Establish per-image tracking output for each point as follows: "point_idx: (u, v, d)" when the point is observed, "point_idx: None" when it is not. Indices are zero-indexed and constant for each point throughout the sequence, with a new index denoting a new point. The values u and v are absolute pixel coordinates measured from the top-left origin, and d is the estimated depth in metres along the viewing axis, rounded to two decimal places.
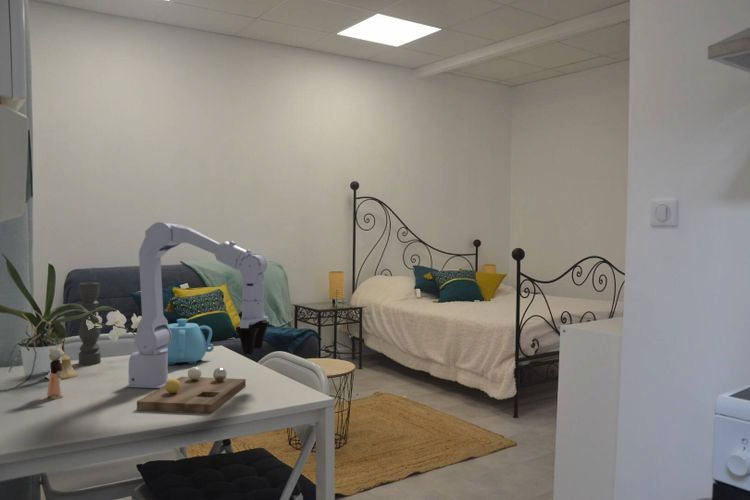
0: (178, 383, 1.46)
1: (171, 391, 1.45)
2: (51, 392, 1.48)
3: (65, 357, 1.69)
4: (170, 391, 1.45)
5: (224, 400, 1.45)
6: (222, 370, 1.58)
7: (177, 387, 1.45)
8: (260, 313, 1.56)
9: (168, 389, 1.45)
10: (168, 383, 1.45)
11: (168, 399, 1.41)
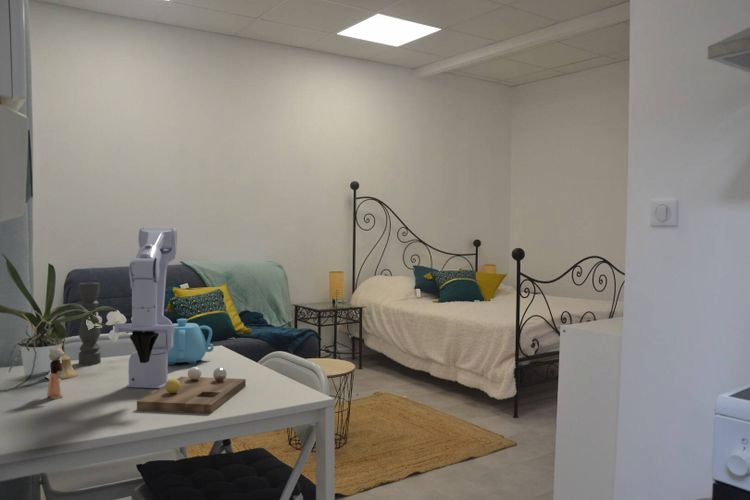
0: (178, 383, 1.46)
1: (171, 391, 1.45)
2: (51, 392, 1.48)
3: (65, 357, 1.69)
4: (170, 391, 1.45)
5: (224, 400, 1.45)
6: (222, 370, 1.58)
7: (177, 387, 1.45)
8: (133, 321, 1.44)
9: (168, 389, 1.45)
10: (168, 383, 1.45)
11: (168, 399, 1.41)
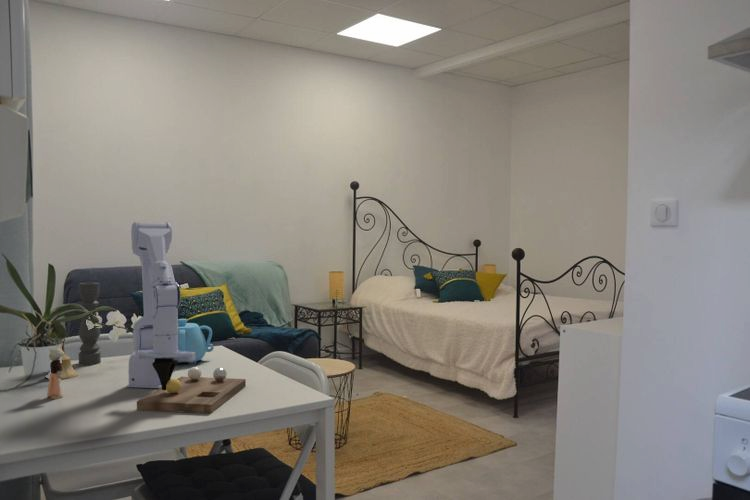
0: (179, 384, 1.46)
1: (171, 391, 1.45)
2: (51, 392, 1.48)
3: (65, 357, 1.69)
4: (170, 391, 1.45)
5: (224, 400, 1.45)
6: (222, 370, 1.58)
7: (178, 388, 1.45)
8: (154, 349, 1.44)
9: (169, 389, 1.45)
10: (169, 383, 1.45)
11: (168, 399, 1.41)
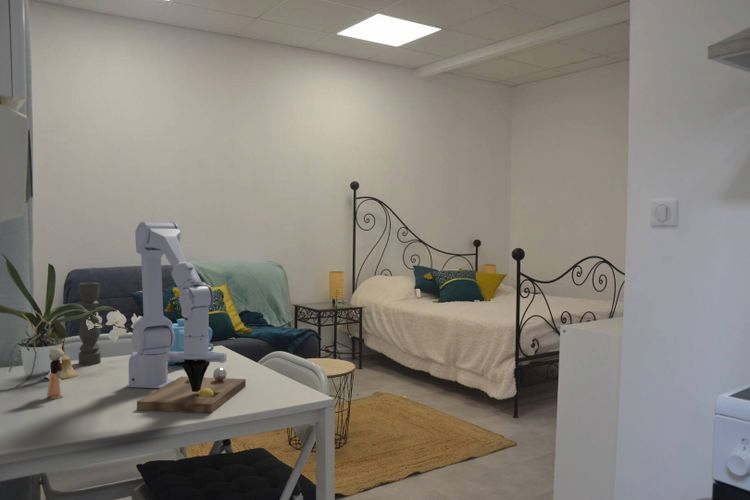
0: (206, 388, 1.45)
1: None
2: (51, 392, 1.48)
3: (65, 357, 1.69)
4: None
5: (224, 400, 1.45)
6: (222, 370, 1.58)
7: (208, 390, 1.45)
8: (186, 350, 1.43)
9: None
10: (200, 396, 1.44)
11: (168, 399, 1.41)
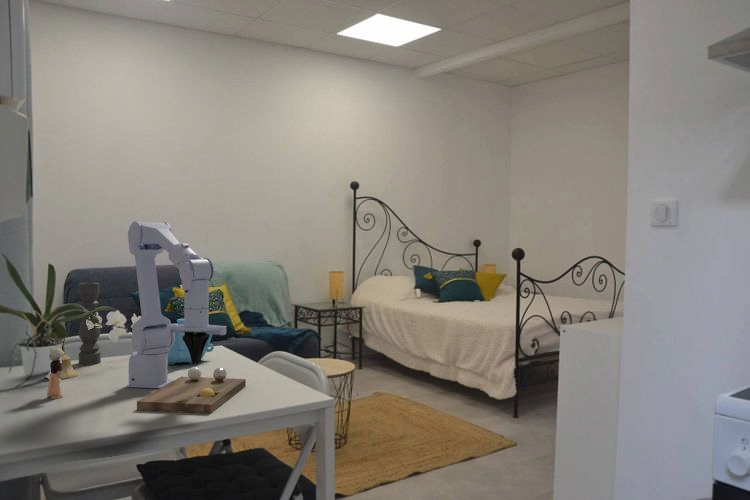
0: (207, 388, 1.45)
1: None
2: (51, 392, 1.48)
3: (65, 357, 1.69)
4: None
5: (224, 400, 1.45)
6: (222, 370, 1.58)
7: (209, 390, 1.45)
8: (186, 322, 1.44)
9: None
10: (200, 396, 1.44)
11: (168, 399, 1.41)
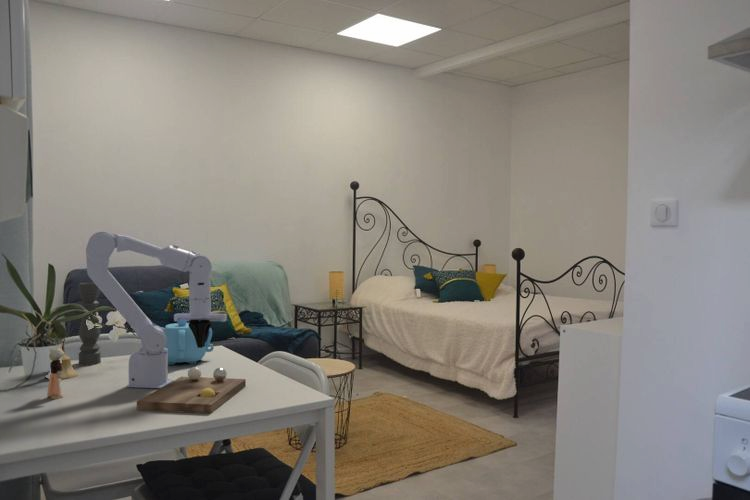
0: (208, 388, 1.45)
1: None
2: (51, 392, 1.48)
3: (65, 357, 1.69)
4: None
5: (224, 400, 1.45)
6: (222, 370, 1.58)
7: (210, 391, 1.45)
8: (191, 311, 1.64)
9: None
10: (201, 395, 1.44)
11: (168, 399, 1.41)
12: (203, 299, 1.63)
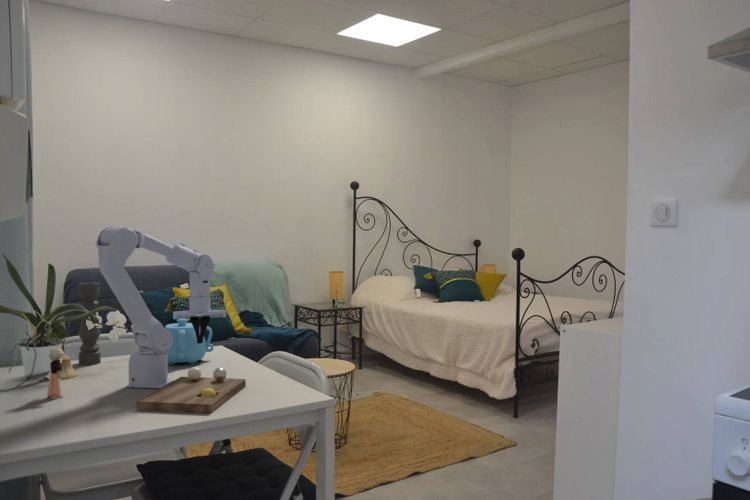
0: (210, 388, 1.45)
1: None
2: (51, 392, 1.48)
3: (65, 357, 1.69)
4: None
5: (224, 400, 1.45)
6: (222, 370, 1.58)
7: (211, 391, 1.45)
8: (194, 308, 1.69)
9: None
10: (202, 395, 1.44)
11: (168, 399, 1.41)
12: (207, 296, 1.71)
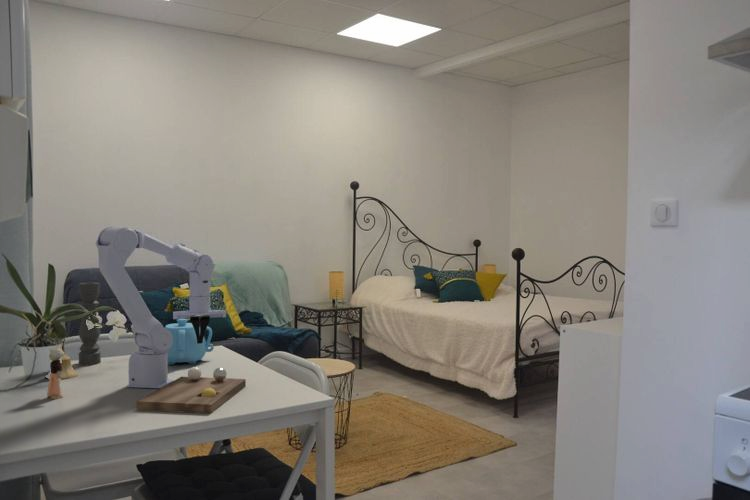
0: (210, 388, 1.45)
1: None
2: (51, 392, 1.48)
3: (65, 357, 1.69)
4: None
5: (224, 400, 1.45)
6: (222, 370, 1.58)
7: (212, 391, 1.45)
8: (194, 308, 1.69)
9: None
10: (202, 395, 1.44)
11: (168, 399, 1.41)
12: (207, 296, 1.71)
